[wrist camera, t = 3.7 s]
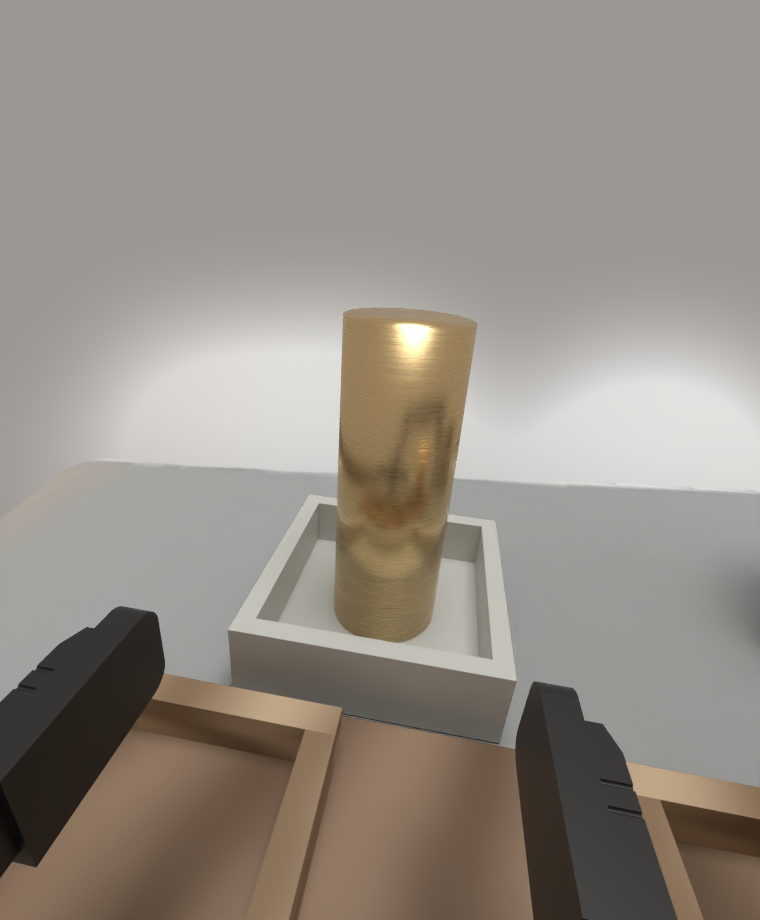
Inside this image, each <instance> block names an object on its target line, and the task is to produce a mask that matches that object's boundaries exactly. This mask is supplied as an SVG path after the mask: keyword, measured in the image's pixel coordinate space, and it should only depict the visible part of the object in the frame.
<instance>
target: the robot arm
mask: <svg viewBox="0 0 760 920" xmlns="http://www.w3.org/2000/svg"><path fill="white" fill-rule="evenodd" d="M164 669H165V659H164V653H163V647H162V640H161V634H160V628H159V622H158V617H157V615H156V614H155V613H154V612H150V611H145V610H139V609H134V608H128V607H122V606H120V607H117V608H115V609H113V610H112V611H111V612H110V613H109V614H108V615H107V616H106V617H105V618H104V619H103V620H102V621H101V622H100V623H99V624H98V625H97V626H96V627H95V628H89V627H86V628H85V629H83V630H81V631H80V632H78V633H76V634H75V635H73V636H71V637H70V638H68V639H67V640H65V641H63V642H62V643H60V644H59V645H58V646H57V647H56V648H55V649H54V650H53V651H52V652H51V653H50V654H49V655H48V656H46V657H45V658H44V659H43V660H42V661H41V662H40V663H39V664H38V665H37V669H36V670H35V671H34V670H32V671H31V672H30V673H29V674H28V675H27V676H26V677H25V678H24V679H23V680H22V681H21V682H20V683H19V685H18V688H17V689H13V690H12V691H11V692H10V693H9V694H8V695H7V696H6V697H5V698H4V699H3V700H2V701H1V702H0V878H1V877H2V875H3V874H4V872H5V871H6V870H7V868H8V867H9V866H10V864H11V863H12V862H15V863H19V864H24V865H28V866H32V867H36V868H37V866H38V865H39V863H40V862H41V860H42V859H43V857H44V856H45V854H46V853H47V851H48V850H49V848H50V847H51V846H52V844H53V843H54V841H55V840H56V838H57V837H58V835H59V834H60V832H61V831H62V829H63V828H64V826H65V825H66V824H67V822H68V821H69V819H70V818H71V816H72V815H73V813H74V812H75V810H76V809H77V807H78V806H79V804H80V803H81V802H82V800H83V799H84V797H85V796H86V794H87V793H88V791H89V790H90V788H91V787H92V785H93V784H94V782H95V781H96V780H97V778H98V777H99V775H100V774H101V772H102V771H103V769H104V768H105V766H106V765H107V763H108V762H109V760H110V759H111V758H112V756H113V755H114V753H115V752H116V750H117V749H118V747H119V746H120V744H121V743H122V741H123V740H124V738H125V737H126V736H127V734H128V733H129V731H130V730H131V728H132V727H133V725H134V724H135V722H136V721H137V719H138V718H139V716H140V715H141V713H142V712H143V711H144V709H145V708H146V706H147V705H148V703H149V702H150V700H151V699H152V697H153V696H154V694H155V693H156V691H157V689H158V687H159V685H160V683H161V680H162V677H163V674H164ZM515 759H516V771H517V780H518V789H519V797H520V806H521V815H522V824H523V832H524V841H525V850H526V859H527V867H528V876H529V885H530V894H531V902H532V911H533V920H678V919H677V916H676V913H675V910H674V907H673V904H672V901H671V898H670V895H669V892H668V889H667V886H666V882H665V879H664V876H663V873H662V870H661V867H660V864H659V861H658V858H657V855H656V852H655V849H654V846H653V843H652V840H651V837H650V834H649V831H648V828H647V825H646V822H645V819H643V818H642V810H641V807H640V804H639V801H638V798H637V795H636V791H634V790H633V782H632V779H631V776H630V773H629V770H628V767H627V764H626V761H625V758H624V755H623V753H622V751H621V750H620V748H619V747H618V745H617V744H616V743H615V741H614V740H613V738H612V737H611V735H610V734H609V733H608V731H607V730H606V728H605V727H604V725H603V724H600V723H594V722H589V721H584V717H583V714H582V710H581V706H580V702H579V699H578V696H577V693H576V691H575V690H574V689H573V688H569V687H563V686H558V685H552V684H546V683H541V682H533V683H532V685H531V688H530V691H529V695H528V698H527V701H526V704H525V708H524V711H523V714H522V718H521V721H520V724H519V727H518V731H517V737H516V748H515Z"/></svg>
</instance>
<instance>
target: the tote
mask: <svg viewBox="0 0 760 920" xmlns="http://www.w3.org/2000/svg"><path fill="white" fill-rule="evenodd" d="M336 520H337V498H330V497H323V496H316V495H309V496H308V498H307V500H306V501H305V503H304V505H303V506H302V508H301V510H300V511H299V513H298V515H297V516H296V518H295V519H294V521H293V523H292V524H291V526H290V528H289V529H288V531H287V533H286V534H285V536H284V538H283V539H282V541H281V543H280V544H279V546H278V548H277V549H276V551H275V553H274V554H273V556H272V558H271V559H270V561H269V563H268V564H267V566H266V568H265V569H264V571H263V573H262V574H261V576H260V578H259V579H258V581H257V582H256V584H255V586H254V587H253V589H252V591H251V592H250V594H249V596H248V597H247V599H246V601H245V602H244V604H243V606H242V607H241V609H240V611H239V612H238V614H237V616H236V617H235V619H234V621H233V622H232V624H231V626H230V627H229V629H228V636H229V647H230V659H231V671H232V683H233V687H236V688H241V689H247V690H252V691H257V692H262V693H268V694H273V695H278V696H283V697H288V698H294V699H299V700H304V701H309V702H315V703H320V704H325V705H330V706H335V707H341V708H342V713H343V714H349V715H354V716H359V717H364V718H369V719H375V720H380V721H385V722H390V723H395V724H400V725H406V726H411V727H416V728H421V729H426V730H432V731H437V732H442V733H447V734H452V735H458V736H463V737H468V738H473V739H478V740H484V741H489V742H494V743H499V742H500V739H501V735H502V731H503V728H504V724H505V721H506V717H507V714H508V710H509V707H510V703H511V700H512V696H513V692H514V689H515V685H516V682H517V680H516V672H515V665H514V657H513V650H512V643H511V635H510V628H509V620H508V613H507V606H506V598H505V591H504V583H503V576H502V569H501V561H500V554H499V546H498V539H497V532H496V524H495V521H491V520H484V519H477V518H470V517H463V516H456V515H449V514H448V519H447V525H446V532H445V538H444V545H443V552H442V558H441V565H440V571H439V578H438V584H437V591H436V597H435V604H434V610H433V616H432V620H431V622H430V624H429V626H428V627H427V628H426V629H425V630H424V631H423V632H422V633H421V634H420V635H418V636H416V637H415V638H412V639H410V640H407V641H404V642H400V643H394V642H388V641H383V640H377V639H371V638H365V637H360V636H355V635H353V634H352V633H350V632H349V631H348V630H346V629H345V628H344V627H343V626H342V625H341V623H340V622H339V621H338V619H337V617H336V615H335V611H334V581H335V550H336Z"/></svg>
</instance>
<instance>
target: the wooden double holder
mask: <svg viewBox="0 0 760 920" xmlns="http://www.w3.org/2000/svg"><path fill="white" fill-rule="evenodd" d="M626 764H627V767H628V770H629V773H630V776H631V779H632V782H633V790H634V791H636V795H637V798H638V801H639V804H640V807H641V810H642V818H643V819H645V822H646V825H647V828H648V831H649V834H650V837H651V840H652V843H653V846H654V849H655V852H656V855H657V858H658V861H659V864H660V867H661V870H662V873H663V876H664V879H665V882H666V886H667V889H668V892H669V895H670V898H671V901H672V904H673V907H674V910H675V913H676V916H677V919H678V920H760V788H759V787H754V786H748V785H743V784H738V783H733V782H727V781H722V780H717V779H712V778H707V777H701V776H696V775H691V774H686V773H680V772H675V771H670V770H665V769H660V768H654V767H649V766H644V765H639V764H633V763H628V762H626ZM0 920H533V911H532V902H531V894H530V885H529V876H528V867H527V859H526V850H525V841H524V832H523V824H522V815H521V806H520V797H519V789H518V780H517V771H516V759H515V749H511V748H506V747H501V746H496V745H491V744H485V743H480V742H475V741H470V740H465V739H460V738H454V737H449V736H444V735H439V734H434V733H428V732H423V731H418V730H413V729H408V728H403V727H397V726H392V725H387V724H382V723H377V722H372V721H366V720H361V719H356V718H351V717H346V716H342V708H341V707H335V706H330V705H325V704H320V703H315V702H309V701H304V700H299V699H294V698H288V697H283V696H278V695H273V694H268V693H262V692H257V691H252V690H247V689H241V688H236V687H231V686H226V685H220V684H215V683H210V682H205V681H200V680H194V679H189V678H184V677H179V676H173V675H168V674H163V677H162V680H161V683H160V685H159V687H158V689H157V691H156V693H155V694H154V696H153V697H152V699H151V700H150V702H149V703H148V705H147V706H146V708H145V709H144V711H143V712H142V713H141V715H140V716H139V718H138V719H137V721H136V722H135V724H134V725H133V727H132V728H131V730H130V731H129V733H128V734H127V736H126V737H125V738H124V740H123V741H122V743H121V744H120V746H119V747H118V749H117V750H116V752H115V753H114V755H113V756H112V758H111V759H110V760H109V762H108V763H107V765H106V766H105V768H104V769H103V771H102V772H101V774H100V775H99V777H98V778H97V780H96V781H95V782H94V784H93V785H92V787H91V788H90V790H89V791H88V793H87V794H86V796H85V797H84V799H83V800H82V802H81V803H80V804H79V806H78V807H77V809H76V810H75V812H74V813H73V815H72V816H71V818H70V819H69V821H68V822H67V824H66V825H65V826H64V828H63V829H62V831H61V832H60V834H59V835H58V837H57V838H56V840H55V841H54V843H53V844H52V846H51V847H50V848H49V850H48V851H47V853H46V854H45V856H44V857H43V859H42V860H41V862H40V863H39V865H38V866H37V868H36V867H32V866H28V865H24V864H19V863H15V862H12V863H11V864H10V866H9V867H8V868H7V870H6V871H5V872H4V874H3V875H2V877H1V878H0Z"/></svg>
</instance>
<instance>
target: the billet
mask: <svg viewBox="0 0 760 920" xmlns="http://www.w3.org/2000/svg"><path fill="white" fill-rule="evenodd" d="M476 329H477V323H476V322H474V321H473V320H470V319H468V318H464V317H461V316H456V315H452V314H446V313H440V312H433V311H425V310H416V309H415V310H414V309H402V308H360V309H352V310H348V311H346V312H344V313H343V338H342V340H343V341H342V368H341V398H340V430H339V459H338V461H339V462H338V490H337V520H336V550H335V581H334V611H335V615H336V617H337V619H338V621H339V622H340V623H341V625H342V626H343V627H344V628H345V629H346V630H348V631H349V632H350V633H352V634H353V635H355V636H360V637H365V638H371V639H377V640H383V641H388V642H394V643H400V642H404V641H407V640H410V639H412V638H415V637H416V636H418V635H420V634H421V633H422V632H423V631H424V630H425V629H426V628H427V627H428V626H429V624H430V622H431V620H432V616H433V610H434V604H435V597H436V591H437V584H438V578H439V571H440V565H441V558H442V552H443V545H444V538H445V532H446V525H447V519H448V512H449V506H450V499H451V493H452V486H453V480H454V473H455V467H456V460H457V454H458V447H459V441H460V434H461V427H462V421H463V414H464V408H465V401H466V395H467V388H468V381H469V375H470V369H471V362H472V355H473V349H474V343H475V336H476Z"/></svg>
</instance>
